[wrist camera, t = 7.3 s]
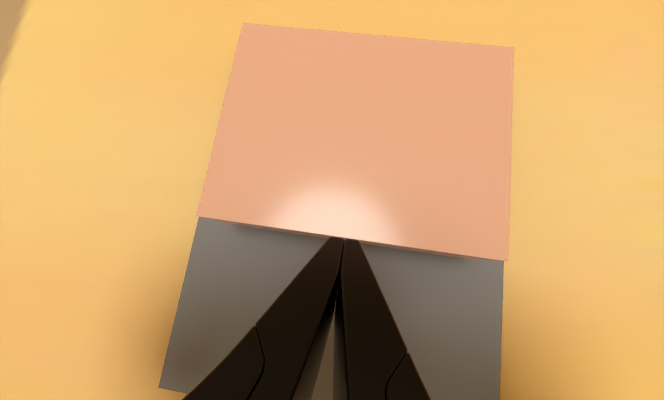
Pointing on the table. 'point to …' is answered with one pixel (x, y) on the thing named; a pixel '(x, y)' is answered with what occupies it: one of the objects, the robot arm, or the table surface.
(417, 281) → the mat
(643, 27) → the table surface
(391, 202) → the salmon pink block
